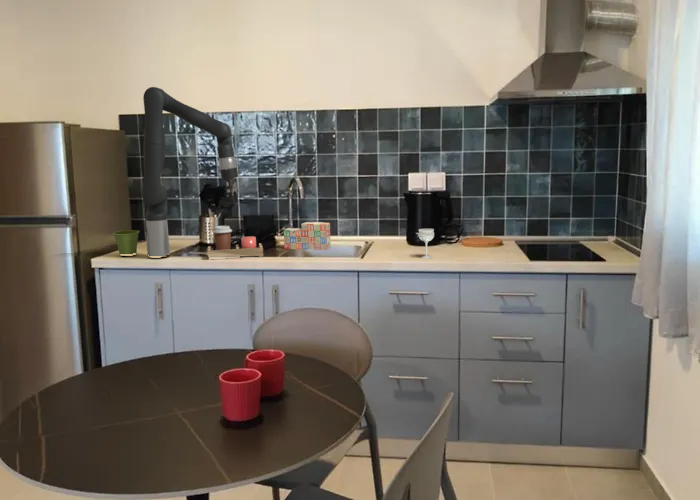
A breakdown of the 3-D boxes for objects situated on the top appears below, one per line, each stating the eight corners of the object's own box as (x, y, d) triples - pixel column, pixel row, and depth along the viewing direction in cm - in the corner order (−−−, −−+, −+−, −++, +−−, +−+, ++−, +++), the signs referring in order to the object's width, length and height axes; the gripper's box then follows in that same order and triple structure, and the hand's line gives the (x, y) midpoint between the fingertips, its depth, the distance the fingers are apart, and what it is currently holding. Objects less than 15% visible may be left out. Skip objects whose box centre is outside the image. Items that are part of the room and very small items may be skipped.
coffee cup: (235, 252, 307) (233, 227, 305) (215, 254, 303) (213, 228, 301) (231, 249, 315) (229, 224, 313) (212, 251, 312) (210, 226, 310)
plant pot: (109, 257, 304) (106, 233, 302) (128, 253, 314) (126, 229, 312) (127, 259, 298) (125, 234, 296) (147, 254, 309) (145, 230, 307)
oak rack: (208, 255, 302) (208, 246, 302) (261, 251, 307) (260, 243, 306) (208, 260, 289) (207, 251, 289) (263, 256, 294) (262, 247, 293)
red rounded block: (239, 255, 299) (238, 238, 298) (249, 253, 304) (248, 236, 303) (249, 256, 295) (248, 238, 294) (259, 254, 301) (258, 236, 299)
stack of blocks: (284, 249, 313) (282, 223, 311) (288, 247, 319) (287, 221, 316) (327, 250, 307) (326, 223, 305) (331, 247, 313) (330, 222, 311)
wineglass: (422, 259, 276) (421, 231, 274) (416, 256, 282) (415, 229, 280) (437, 258, 278) (436, 230, 276) (430, 255, 284) (430, 228, 282)
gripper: (223, 167, 302) (229, 202, 305) (216, 169, 288) (222, 206, 291) (239, 165, 302) (244, 200, 305) (233, 167, 288) (239, 204, 291)
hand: (233, 203), depth 298 cm, fingers open, 8 cm apart
